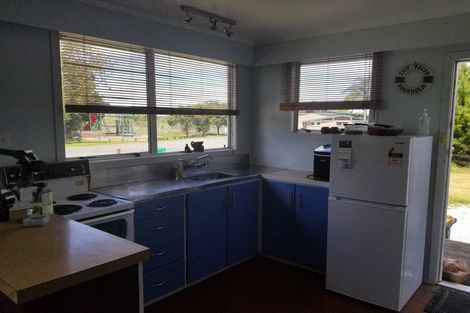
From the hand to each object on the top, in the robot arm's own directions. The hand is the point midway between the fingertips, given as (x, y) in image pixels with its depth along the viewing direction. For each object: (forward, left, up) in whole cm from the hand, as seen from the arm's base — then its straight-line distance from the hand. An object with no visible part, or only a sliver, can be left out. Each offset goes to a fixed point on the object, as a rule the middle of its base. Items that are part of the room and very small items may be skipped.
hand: (28, 200), depth 188 cm
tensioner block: (-2, 0, -11) cm, 11 cm away
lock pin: (0, 0, -11) cm, 11 cm away
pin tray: (+8, +6, -11) cm, 15 cm away
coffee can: (-14, +3, -11) cm, 18 cm away
